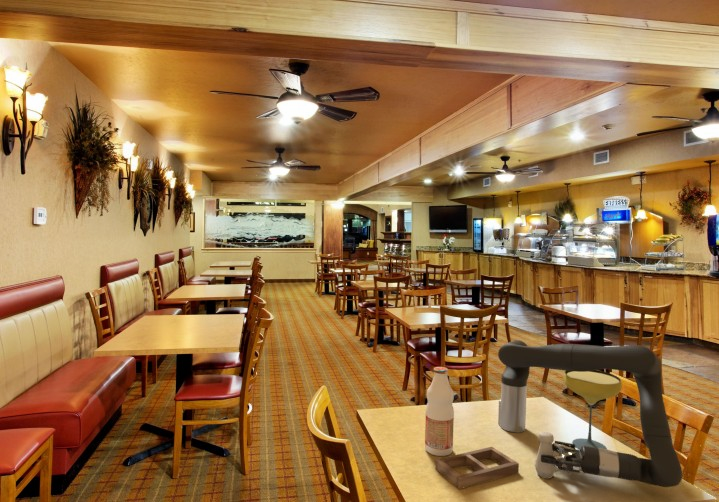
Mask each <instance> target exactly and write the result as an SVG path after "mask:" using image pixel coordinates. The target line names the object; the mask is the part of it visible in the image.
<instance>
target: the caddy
mask: <svg viewBox="0 0 719 502" xmlns="http://www.w3.org/2000/svg"><path fill="white" fill-rule="evenodd" d="M490 459H492V460H493V461H494V462H496V463H498V464H499V465H495V466H492V467H488V466H487V465H486V464H483V462H482V461H486V460H490ZM519 465H520V463H519V462H517V461H516V460H514V459H512V458H510V457H509V456H507V455H506V454H504V453H503V452H501V451H499V450H498V449H496V448H495V447H494V446H489V447H484V448H480V449H475V450H471V451H467V452H462V453H458V454H454V455H451V456H449V455H448V456H444V457H441V458H437V459H435V470H436V471H437V472H438V471H439V474H441V475H442V476H443V477H444V476H445V477H444V478H445V479H447V480H448V481H449V480H450V481H451V482H450V481H449V482H450V483H451V484H453V483H454V484H455V485H456V486H457V487H456V486H455V485H454V484H453V485H454V486H455V487H456V488H458V487H459V488H462V489H464V488H463V487H466V488H468V487H467V486H469V487H472V486H471V485H473V486H477V485H480V484H485V483H487V482H491V481H495V480H499V479H502V478H505V477H511V476H513V475H517V474H519V470H520V469H519V467H520V466H519ZM463 466H466V467H468V468H470V469H471V470H473V472H468V473H464V474H460V473H459V472H457V471H456V470H455V469H454V468H457V467H463ZM479 483H480V484H479ZM476 484H477V485H476ZM459 488H458V489H459Z"/></svg>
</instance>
